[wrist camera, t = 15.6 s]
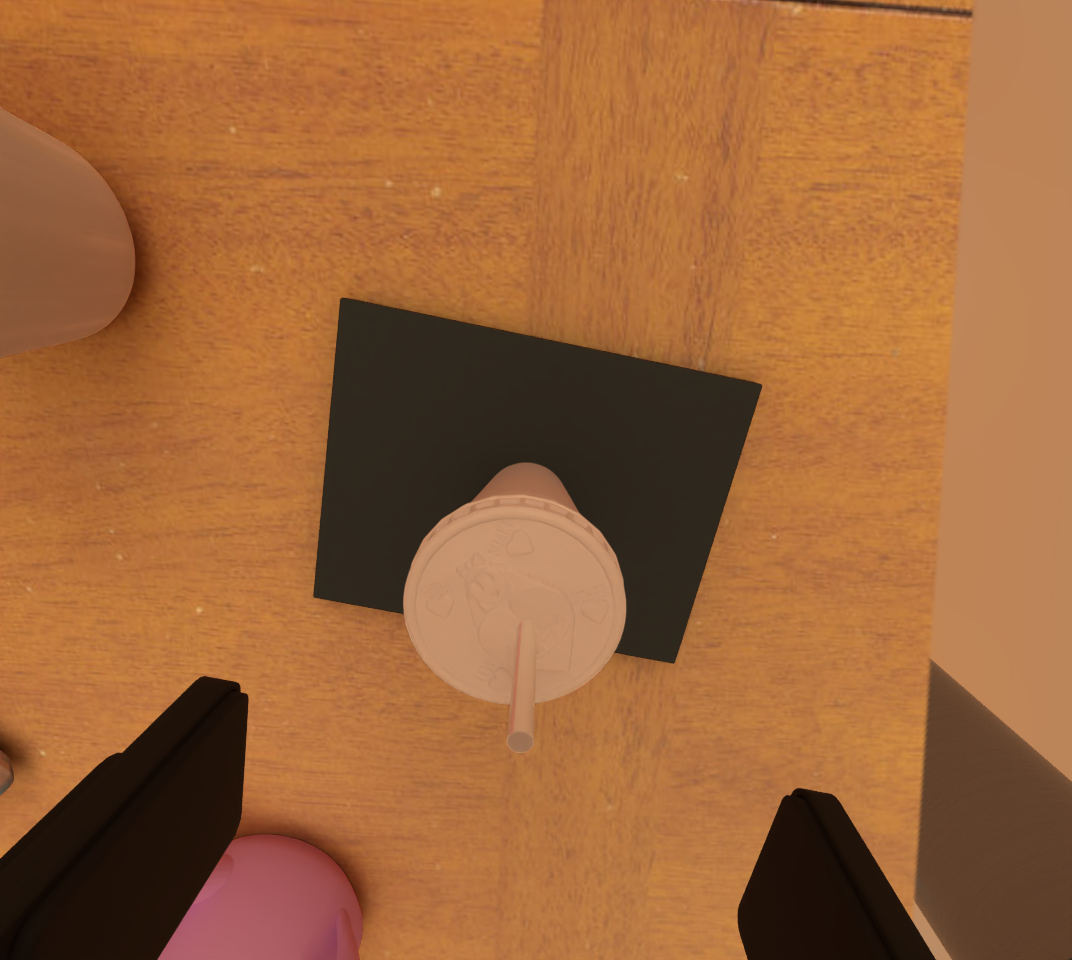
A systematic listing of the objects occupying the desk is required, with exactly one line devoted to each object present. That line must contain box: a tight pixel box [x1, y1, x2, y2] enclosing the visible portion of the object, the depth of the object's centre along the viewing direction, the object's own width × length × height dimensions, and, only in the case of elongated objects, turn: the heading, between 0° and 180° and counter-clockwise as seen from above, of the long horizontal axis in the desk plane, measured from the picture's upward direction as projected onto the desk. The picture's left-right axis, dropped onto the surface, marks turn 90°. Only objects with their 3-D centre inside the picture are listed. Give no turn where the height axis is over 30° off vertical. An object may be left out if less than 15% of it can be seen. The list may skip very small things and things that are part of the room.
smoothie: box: [403, 463, 626, 753], centre depth 18 cm, size 6×6×14 cm
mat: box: [313, 298, 762, 663], centre depth 25 cm, size 18×14×1 cm
